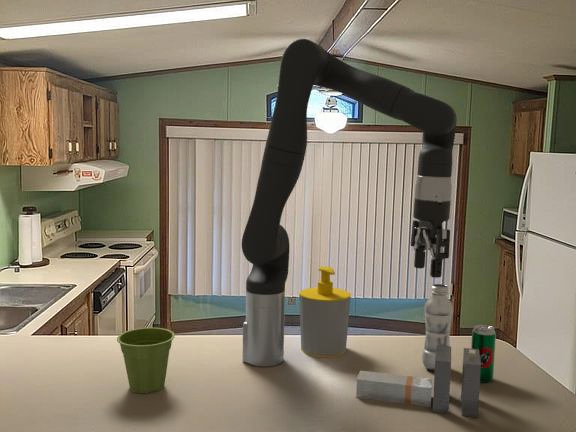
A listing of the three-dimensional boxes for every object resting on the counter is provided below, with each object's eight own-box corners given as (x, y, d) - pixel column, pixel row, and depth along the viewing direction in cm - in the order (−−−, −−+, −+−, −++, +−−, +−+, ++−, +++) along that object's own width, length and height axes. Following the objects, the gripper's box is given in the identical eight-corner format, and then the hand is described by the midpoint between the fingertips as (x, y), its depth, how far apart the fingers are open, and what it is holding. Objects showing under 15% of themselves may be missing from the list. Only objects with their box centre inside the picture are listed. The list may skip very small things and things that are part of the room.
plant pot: (123, 376, 133) (122, 327, 132) (177, 376, 135) (177, 327, 133) (112, 399, 122) (111, 345, 120) (172, 398, 123) (171, 345, 122)
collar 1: (432, 411, 119) (435, 360, 118) (434, 392, 128) (436, 345, 127) (448, 413, 118) (451, 362, 117) (448, 394, 127) (451, 346, 126)
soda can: (497, 380, 135) (501, 328, 134) (482, 385, 133) (485, 332, 131) (480, 373, 140) (483, 322, 138) (464, 377, 137) (467, 325, 136)
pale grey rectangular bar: (356, 397, 125) (356, 379, 125) (359, 388, 130) (360, 370, 129) (430, 407, 121) (431, 388, 121) (431, 397, 126) (432, 378, 125)
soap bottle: (314, 361, 145) (316, 275, 142) (289, 345, 156) (290, 265, 154) (359, 353, 151) (362, 270, 148) (332, 338, 162) (334, 261, 160)
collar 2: (461, 415, 117) (464, 358, 116) (461, 396, 126) (464, 343, 125) (477, 417, 117) (481, 360, 115) (476, 398, 126) (479, 344, 124)
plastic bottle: (451, 375, 138) (456, 290, 135) (421, 372, 139) (425, 288, 137) (450, 365, 144) (454, 283, 142) (421, 363, 145) (424, 281, 143)
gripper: (403, 193, 134) (398, 265, 136) (430, 200, 120) (424, 280, 122) (434, 194, 135) (429, 265, 137) (465, 201, 122) (458, 280, 124)
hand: (427, 272), depth 130 cm, fingers open, 8 cm apart
